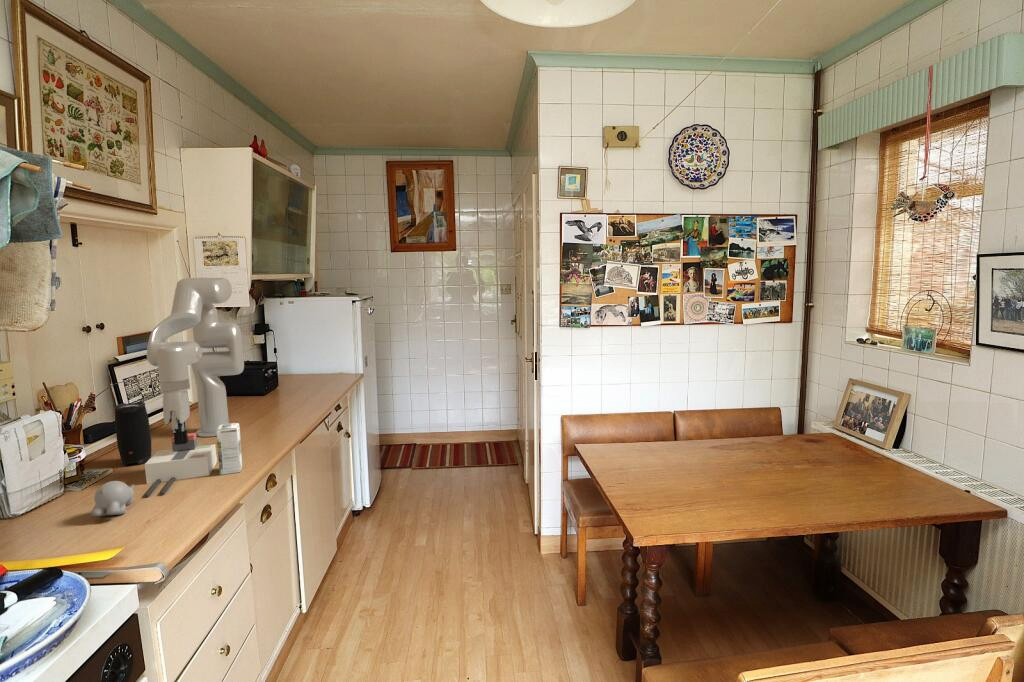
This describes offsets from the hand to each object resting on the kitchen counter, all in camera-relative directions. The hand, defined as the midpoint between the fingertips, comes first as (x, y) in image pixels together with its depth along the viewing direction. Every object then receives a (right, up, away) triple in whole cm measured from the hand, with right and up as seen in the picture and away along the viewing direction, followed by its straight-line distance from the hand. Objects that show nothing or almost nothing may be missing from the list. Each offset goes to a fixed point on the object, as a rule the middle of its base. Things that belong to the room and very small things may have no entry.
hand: (181, 443), depth 155 cm
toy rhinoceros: (0, -13, -25) cm, 28 cm away
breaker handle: (-1, -2, +3) cm, 4 cm away
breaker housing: (0, -9, +1) cm, 9 cm away
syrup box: (+15, -9, +1) cm, 17 cm away
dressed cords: (+2, -11, -11) cm, 16 cm away
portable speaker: (-21, -8, +10) cm, 25 cm away
